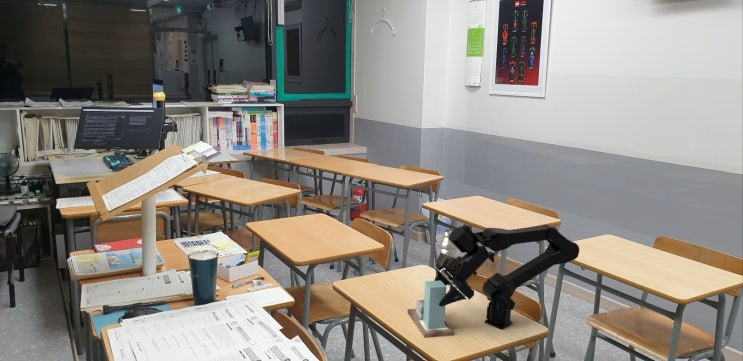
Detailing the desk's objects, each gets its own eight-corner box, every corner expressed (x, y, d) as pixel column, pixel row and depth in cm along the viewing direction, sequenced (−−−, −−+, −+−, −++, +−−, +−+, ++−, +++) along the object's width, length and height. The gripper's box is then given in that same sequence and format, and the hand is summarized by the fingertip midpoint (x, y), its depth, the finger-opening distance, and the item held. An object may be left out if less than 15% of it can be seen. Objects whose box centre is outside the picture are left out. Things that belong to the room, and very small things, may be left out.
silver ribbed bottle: (433, 280, 200) (436, 229, 196) (449, 278, 202) (452, 227, 199) (441, 286, 194) (444, 234, 190) (457, 284, 196) (461, 232, 193)
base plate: (433, 310, 173) (434, 295, 172) (453, 335, 157) (454, 318, 156) (407, 312, 171) (408, 297, 170) (424, 337, 155) (425, 320, 154)
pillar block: (438, 320, 163) (440, 280, 161) (444, 327, 159) (446, 286, 156) (423, 321, 162) (425, 281, 160) (428, 329, 158) (430, 287, 155)
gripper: (442, 235, 166) (407, 271, 165) (466, 255, 148) (427, 294, 148) (464, 258, 169) (430, 293, 169) (490, 280, 151) (452, 319, 151)
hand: (434, 299), depth 159 cm, fingers open, 9 cm apart
